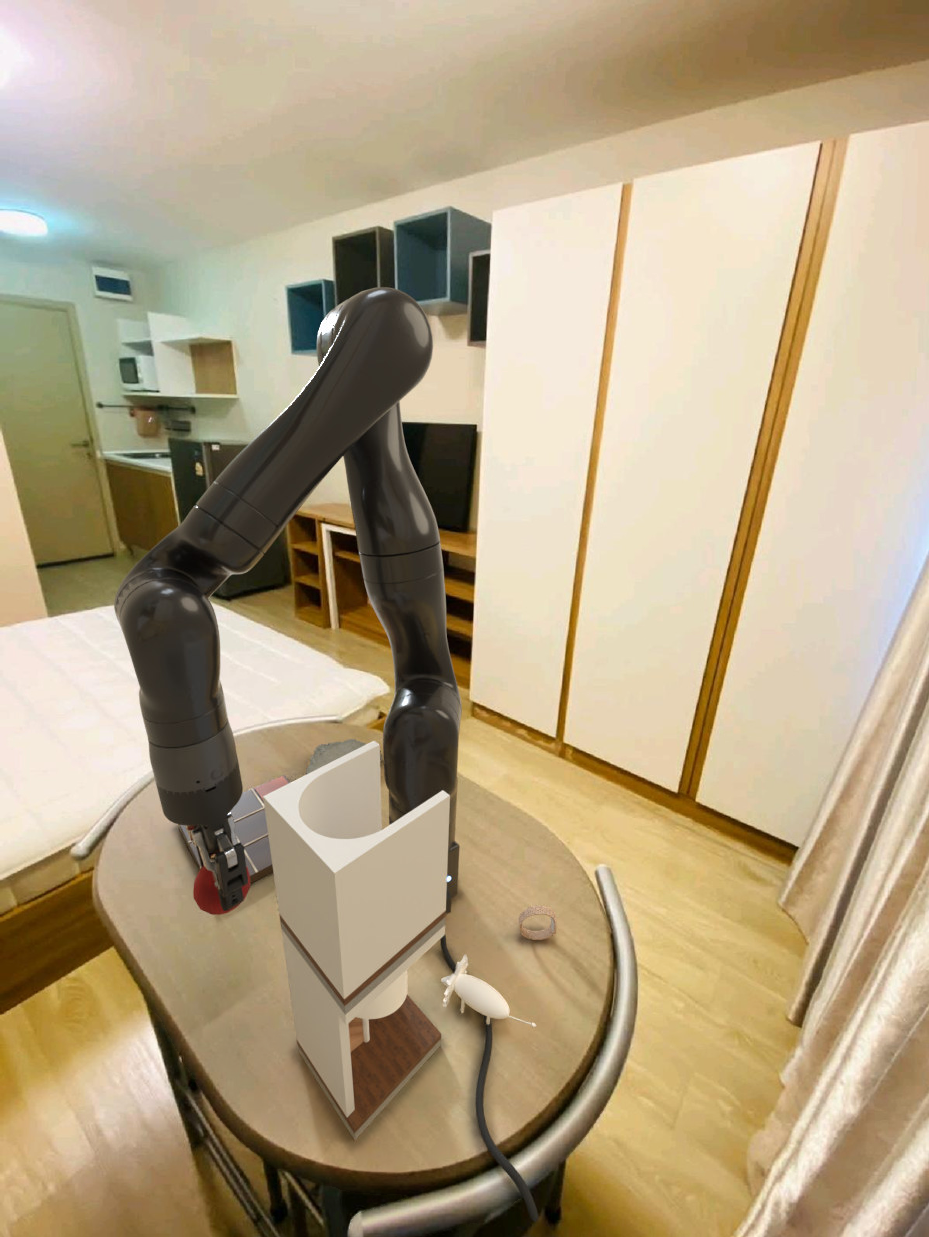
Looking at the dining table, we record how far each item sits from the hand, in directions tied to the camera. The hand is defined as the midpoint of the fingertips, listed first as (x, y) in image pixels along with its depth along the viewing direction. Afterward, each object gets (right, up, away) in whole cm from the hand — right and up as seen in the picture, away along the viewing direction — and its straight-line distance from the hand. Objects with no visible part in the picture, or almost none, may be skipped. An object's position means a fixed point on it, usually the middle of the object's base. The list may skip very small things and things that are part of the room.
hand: (222, 885), depth 59 cm
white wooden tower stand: (+17, -17, -1) cm, 24 cm away
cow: (+30, -16, +2) cm, 34 cm away
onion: (0, -4, +1) cm, 4 cm away
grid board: (-7, -5, +26) cm, 27 cm away
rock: (+5, +1, +40) cm, 41 cm away
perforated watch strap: (+37, -13, +11) cm, 41 cm away
